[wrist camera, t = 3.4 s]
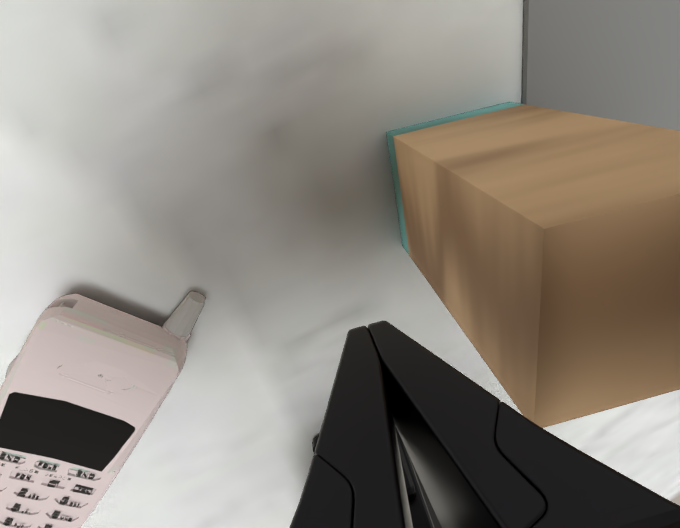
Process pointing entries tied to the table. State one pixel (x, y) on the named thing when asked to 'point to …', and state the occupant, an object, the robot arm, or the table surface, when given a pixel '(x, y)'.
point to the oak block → (550, 249)
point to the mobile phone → (82, 405)
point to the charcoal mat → (604, 59)
